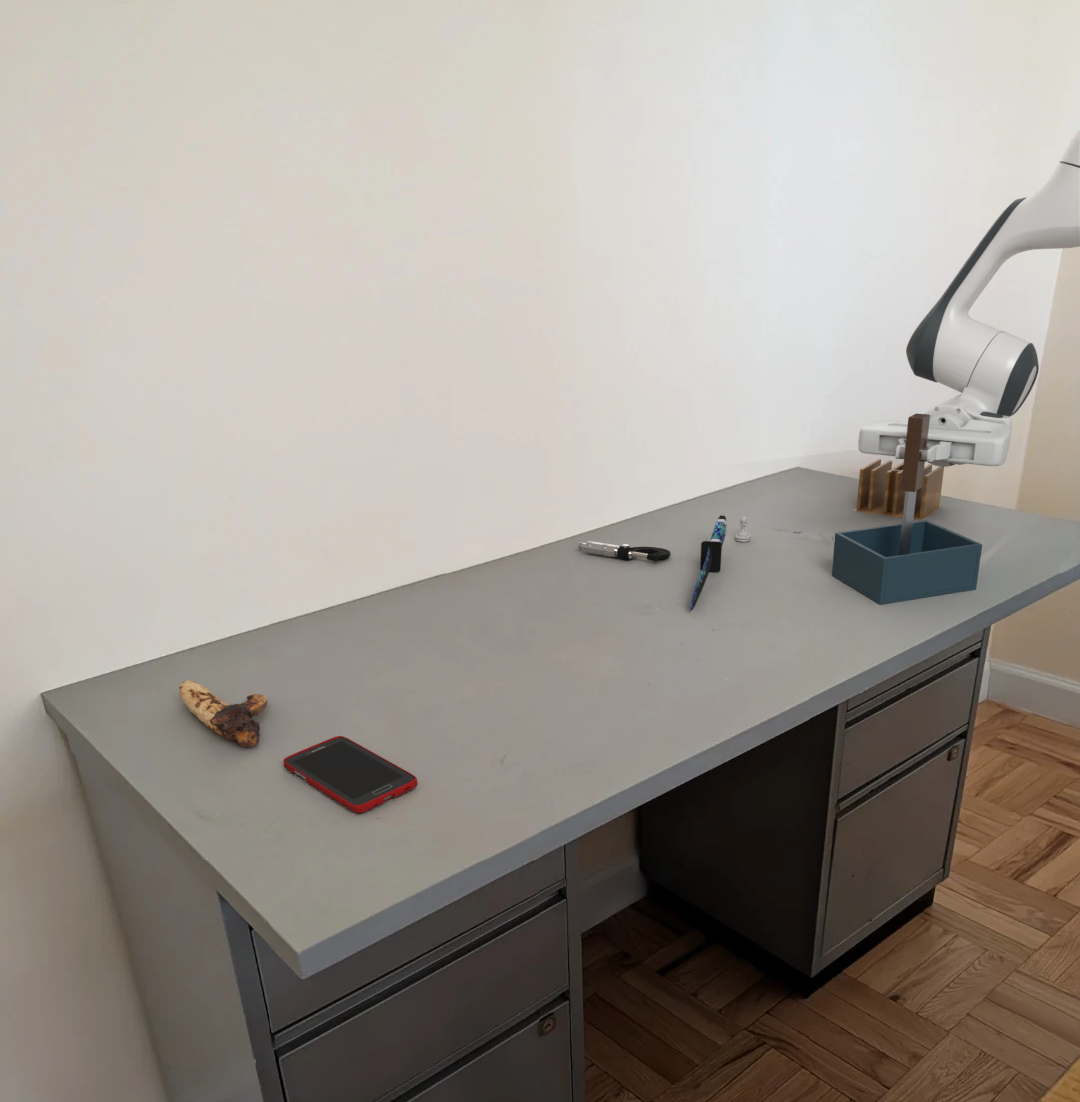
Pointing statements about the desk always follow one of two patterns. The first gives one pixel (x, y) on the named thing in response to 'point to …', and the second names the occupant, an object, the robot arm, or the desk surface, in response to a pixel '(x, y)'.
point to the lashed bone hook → (225, 713)
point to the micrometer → (623, 551)
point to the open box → (906, 562)
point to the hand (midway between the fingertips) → (913, 454)
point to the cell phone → (350, 773)
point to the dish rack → (896, 490)
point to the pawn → (743, 531)
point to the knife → (710, 557)
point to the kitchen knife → (912, 474)
